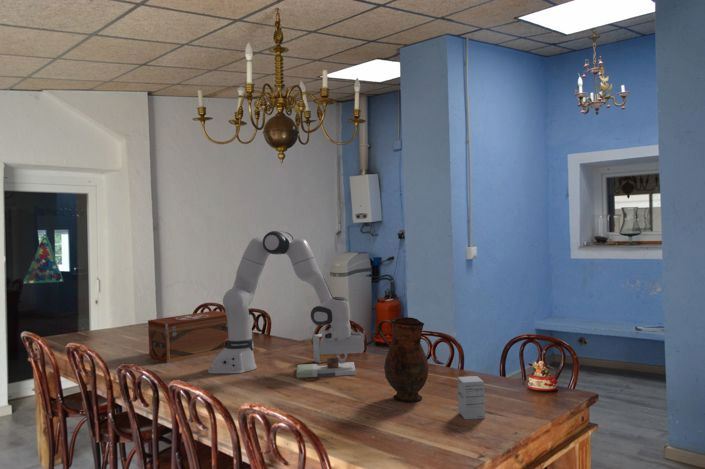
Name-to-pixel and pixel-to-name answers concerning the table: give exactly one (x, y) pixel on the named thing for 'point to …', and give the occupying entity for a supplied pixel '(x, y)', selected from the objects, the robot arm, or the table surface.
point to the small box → (316, 350)
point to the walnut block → (332, 362)
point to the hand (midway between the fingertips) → (342, 363)
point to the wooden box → (187, 336)
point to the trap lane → (325, 370)
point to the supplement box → (471, 397)
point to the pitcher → (405, 358)
